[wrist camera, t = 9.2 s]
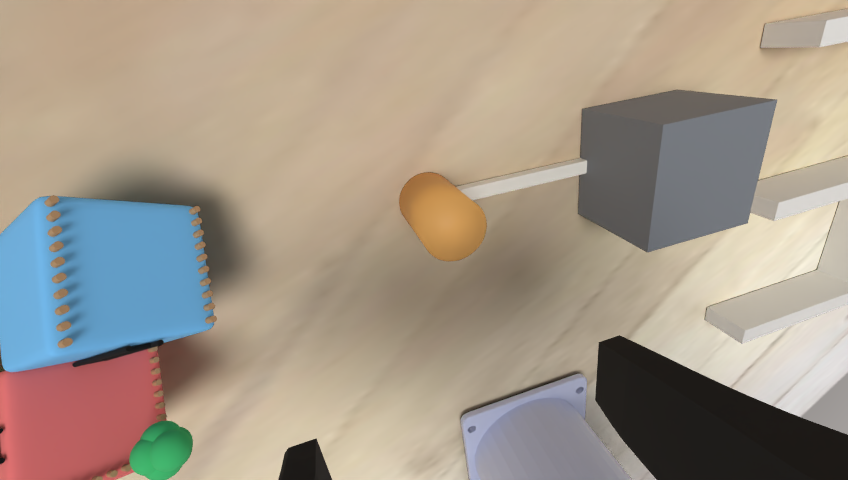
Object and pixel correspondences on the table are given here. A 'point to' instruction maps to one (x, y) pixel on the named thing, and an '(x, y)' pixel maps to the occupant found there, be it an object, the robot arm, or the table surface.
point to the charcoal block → (625, 174)
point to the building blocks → (95, 336)
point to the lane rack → (792, 194)
